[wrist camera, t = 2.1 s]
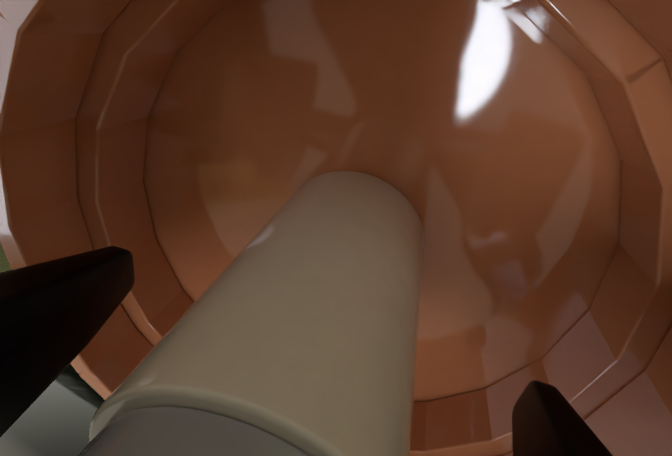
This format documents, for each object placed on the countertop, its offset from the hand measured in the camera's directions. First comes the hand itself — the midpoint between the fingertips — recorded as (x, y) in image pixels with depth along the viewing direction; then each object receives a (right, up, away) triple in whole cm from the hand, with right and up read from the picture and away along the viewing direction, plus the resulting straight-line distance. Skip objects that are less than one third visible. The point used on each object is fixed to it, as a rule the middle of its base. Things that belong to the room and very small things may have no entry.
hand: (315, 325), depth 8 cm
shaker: (+1, +2, +3) cm, 4 cm away
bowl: (+1, +2, +4) cm, 4 cm away
